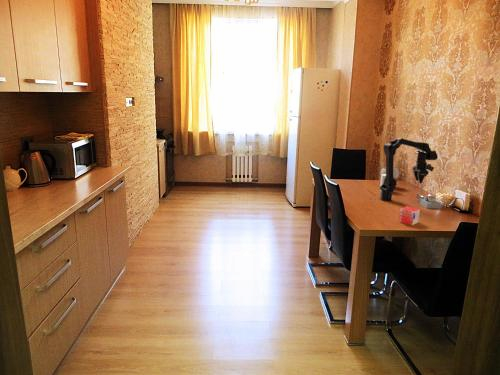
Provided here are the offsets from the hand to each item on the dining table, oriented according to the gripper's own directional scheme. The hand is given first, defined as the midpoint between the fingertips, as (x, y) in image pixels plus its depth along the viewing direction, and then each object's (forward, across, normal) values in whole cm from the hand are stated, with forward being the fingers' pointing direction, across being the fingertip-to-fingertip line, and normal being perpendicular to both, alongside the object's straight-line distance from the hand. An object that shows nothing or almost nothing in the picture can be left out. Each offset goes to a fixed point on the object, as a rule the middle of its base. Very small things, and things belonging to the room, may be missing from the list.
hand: (418, 182), depth 258 cm
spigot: (+12, -20, -3) cm, 24 cm away
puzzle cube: (+12, -59, +19) cm, 63 cm away
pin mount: (+12, -11, -2) cm, 16 cm away
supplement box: (+12, +21, +18) cm, 30 cm away
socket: (+12, -19, -3) cm, 23 cm away
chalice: (+12, +37, +13) cm, 41 cm away
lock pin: (+11, -8, -1) cm, 13 cm away
